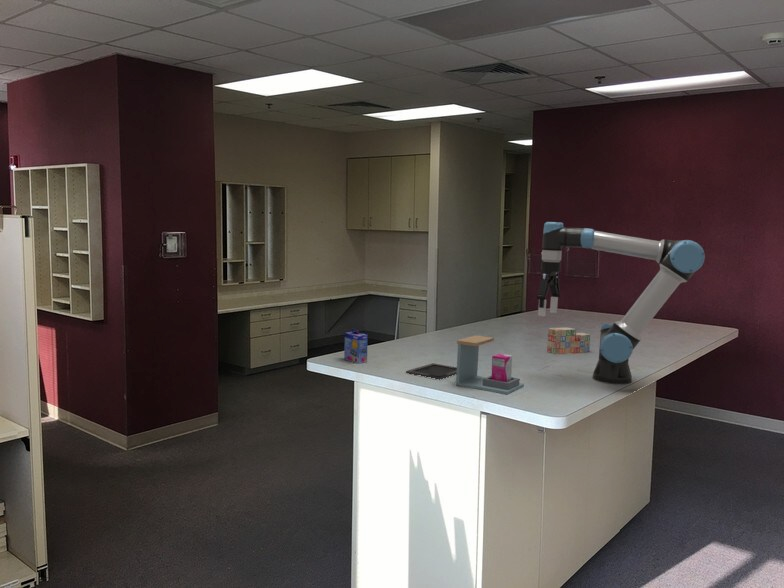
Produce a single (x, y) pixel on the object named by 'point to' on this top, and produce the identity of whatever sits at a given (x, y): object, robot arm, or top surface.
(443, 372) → the picture frame
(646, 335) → the top surface
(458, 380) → the socket stand
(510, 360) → the supplement box
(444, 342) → the top surface
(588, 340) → the stack of blocks
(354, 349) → the ink cartridge box
